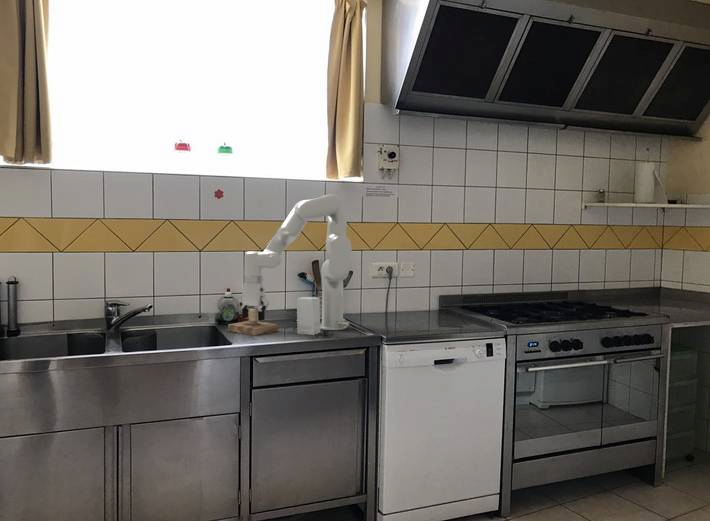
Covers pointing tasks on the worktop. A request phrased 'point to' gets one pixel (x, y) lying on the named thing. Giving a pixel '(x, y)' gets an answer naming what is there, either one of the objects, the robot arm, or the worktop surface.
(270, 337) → the worktop surface
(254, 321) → the beech peg
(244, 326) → the wooden square frame
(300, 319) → the skincare box
